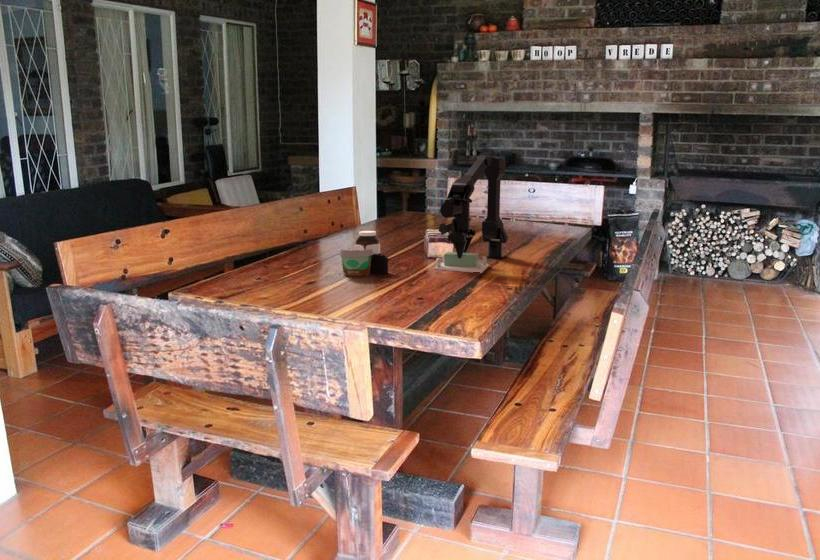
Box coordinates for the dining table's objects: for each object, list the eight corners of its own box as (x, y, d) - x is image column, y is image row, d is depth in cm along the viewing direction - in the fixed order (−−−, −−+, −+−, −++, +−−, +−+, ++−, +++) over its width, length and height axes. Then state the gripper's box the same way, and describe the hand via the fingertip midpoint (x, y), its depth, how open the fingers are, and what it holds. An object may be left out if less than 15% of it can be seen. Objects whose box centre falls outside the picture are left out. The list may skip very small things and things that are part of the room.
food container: (338, 279, 258) (337, 251, 256) (339, 276, 264) (339, 248, 262) (373, 279, 258) (372, 251, 256) (373, 275, 264) (373, 248, 262)
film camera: (392, 271, 273) (392, 248, 271) (386, 276, 263) (386, 251, 262) (353, 270, 275) (352, 247, 274) (346, 275, 266) (345, 251, 264)
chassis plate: (442, 265, 284) (442, 254, 284) (488, 267, 279) (488, 256, 278) (434, 270, 273) (434, 259, 272) (481, 273, 268) (481, 261, 267)
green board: (447, 263, 280) (447, 251, 279) (478, 265, 276) (478, 253, 276) (444, 265, 275) (444, 253, 274) (475, 267, 272) (475, 255, 271)
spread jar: (381, 258, 302) (381, 230, 300) (377, 263, 291) (377, 234, 289) (352, 258, 304) (352, 230, 301) (347, 262, 292) (347, 234, 290)
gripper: (447, 212, 283) (447, 252, 286) (434, 217, 266) (434, 260, 269) (475, 213, 280) (475, 253, 283) (463, 218, 263) (463, 261, 266)
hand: (461, 257), depth 275 cm, fingers open, 6 cm apart
